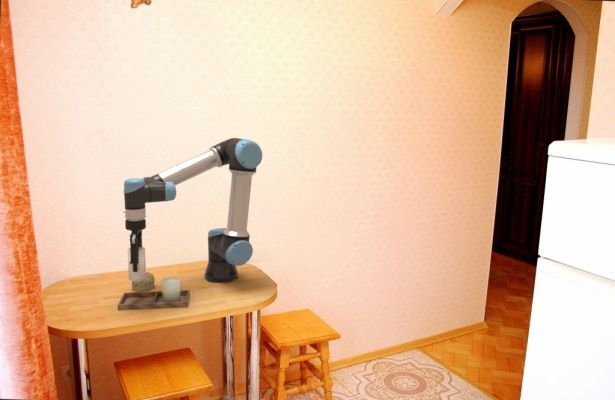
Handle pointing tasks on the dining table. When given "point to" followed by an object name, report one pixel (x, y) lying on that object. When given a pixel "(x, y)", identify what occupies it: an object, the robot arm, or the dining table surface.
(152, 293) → the tray
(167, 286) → the white egg-shaped capsule
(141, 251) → the white rounded tapered cylinder
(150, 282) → the decorative item
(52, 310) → the dining table surface
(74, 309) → the dining table surface
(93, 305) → the dining table surface
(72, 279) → the dining table surface
